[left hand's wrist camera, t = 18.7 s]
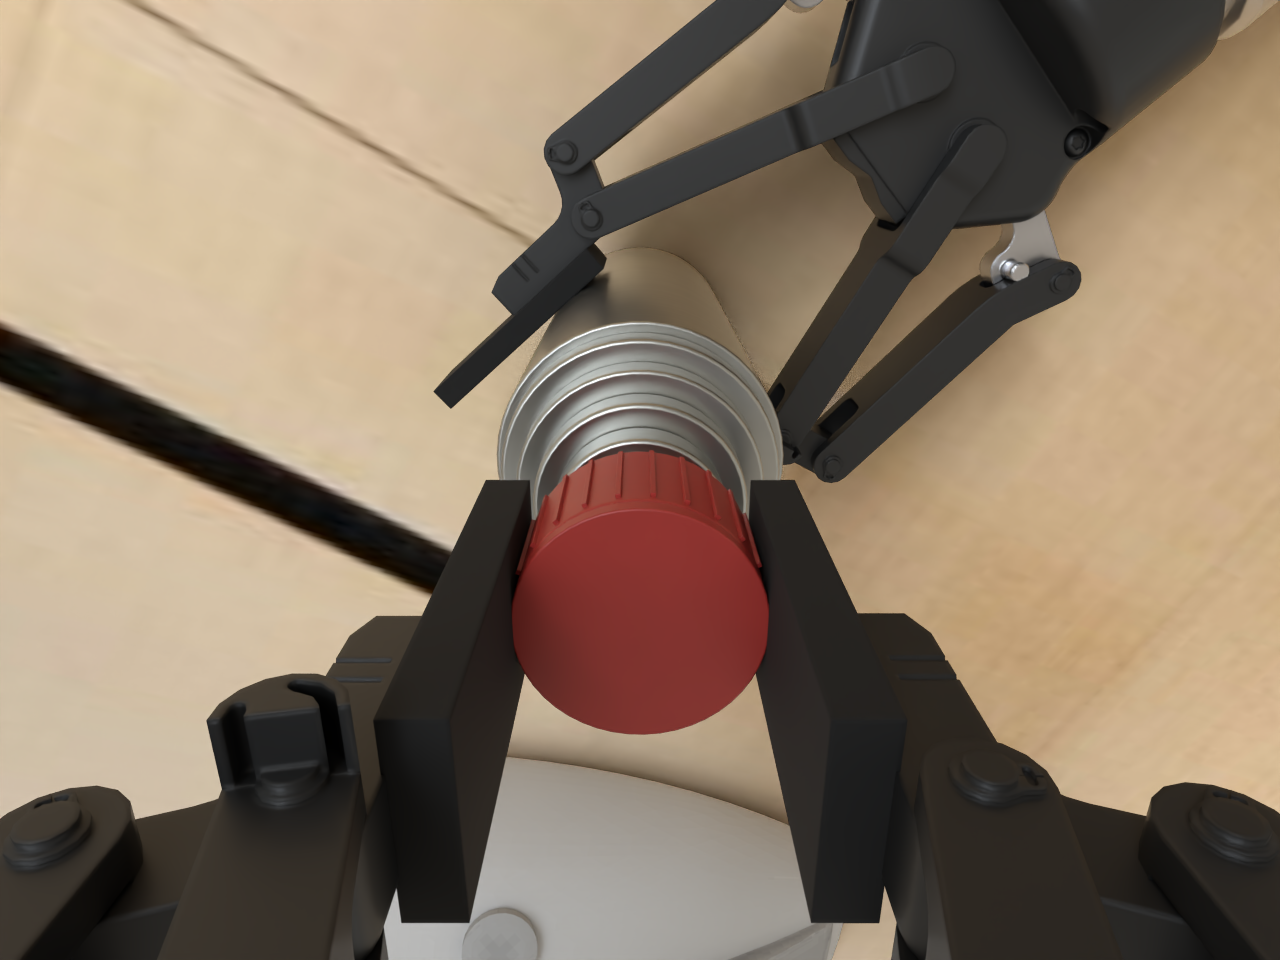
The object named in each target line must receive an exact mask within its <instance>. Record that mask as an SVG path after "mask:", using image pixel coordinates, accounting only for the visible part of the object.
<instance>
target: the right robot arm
mask: <svg viewBox="0 0 1280 960" xmlns="http://www.w3.org/2000/svg"><path fill="white" fill-rule="evenodd" d="M821 1H822V0H716V1H715V2H713V3H712V4H711V5H710V6H708V7H707V8H706V9H705V10H704V11H702V12H701V13H700V14H699V15H697V16H696V17H695V18H694V19H692V20H691V21H690V22H689V23H688V24H686V25H685V26H684V27H683V28H681V29H680V30H679V31H678V32H677V33H675V34H674V35H673V36H672V37H670V38H669V39H668V40H667V41H665V42H664V43H663V44H662V45H661V46H659V47H658V48H657V49H656V50H654V51H653V52H652V53H651V54H650V55H648V56H647V57H646V58H645V59H643V60H642V61H641V62H640V63H638V64H637V65H636V66H635V67H634V68H632V69H631V70H630V71H629V72H627V73H626V74H625V75H624V76H623V77H621V78H620V79H619V80H618V81H616V82H615V83H614V84H613V85H611V86H610V87H609V88H608V89H607V90H605V91H604V92H603V93H602V94H600V95H599V96H598V97H597V98H595V99H594V100H593V101H592V102H591V103H589V104H588V105H587V106H586V107H584V108H583V109H582V110H581V111H580V112H578V113H577V114H576V115H575V116H573V117H572V118H571V119H570V120H568V121H567V122H566V123H565V124H564V125H562V126H561V127H560V128H559V129H557V130H556V131H555V132H554V133H553V134H551V136H550V137H549V138H548V139H547V141H546V144H545V147H544V157H545V160H546V162H547V164H548V166H549V167H550V169H551V171H552V174H553V176H554V178H555V181H556V183H557V186H558V188H559V191H560V194H561V197H562V209H561V213H560V216H559V218H558V219H557V221H556V222H555V223H554V224H553V225H552V226H551V227H550V228H549V229H548V230H547V231H546V232H545V233H544V234H543V235H542V236H541V237H539V238H538V239H537V240H536V241H535V242H534V243H533V244H532V245H531V246H530V247H529V248H528V249H527V250H526V251H525V252H524V253H523V254H522V255H521V256H520V257H518V258H517V259H516V260H515V261H514V262H513V263H512V264H511V265H510V266H509V267H508V268H507V269H506V270H505V271H504V272H503V273H502V274H501V275H500V276H499V277H498V279H497V281H496V283H495V286H494V288H493V290H492V294H493V295H494V296H495V297H496V298H497V299H498V300H499V301H500V302H501V303H502V304H503V305H504V306H505V307H506V309H507V310H508V311H509V312H510V313H511V314H512V315H511V316H510V317H509V318H508V319H506V320H505V321H504V322H503V323H502V324H501V325H500V326H499V327H498V328H497V329H496V330H495V331H494V332H493V333H491V334H490V335H489V336H488V337H487V338H486V339H485V340H484V341H483V342H482V343H481V344H480V345H479V346H477V347H476V348H475V349H474V350H473V351H472V352H471V353H470V354H469V355H468V356H467V357H466V358H465V359H464V360H462V361H461V362H460V363H459V364H458V365H457V366H456V367H455V368H454V369H453V370H452V371H451V372H450V373H449V374H448V375H447V377H446V378H445V379H444V380H443V381H442V382H441V383H440V385H439V386H438V387H437V388H436V389H435V390H434V391H433V392H434V393H435V394H436V395H437V396H438V397H439V398H440V399H441V400H442V401H443V402H444V403H445V404H446V405H447V406H448V407H449V408H450V409H451V408H452V407H453V406H455V405H456V404H457V403H458V402H459V401H460V400H461V399H462V398H463V397H464V396H465V395H467V394H468V393H469V392H470V391H471V390H472V389H473V388H474V387H475V386H476V385H477V384H479V383H480V382H481V381H482V380H483V379H484V378H485V377H486V376H487V375H488V374H490V373H491V372H492V371H493V370H494V369H495V368H496V367H497V366H498V365H499V364H500V363H502V362H503V361H504V360H505V359H506V358H507V357H508V356H509V355H510V354H511V353H512V352H514V351H515V350H516V349H517V348H518V347H519V346H520V345H521V344H522V343H523V342H524V341H526V340H527V339H528V338H529V337H530V336H531V335H532V334H533V333H534V332H535V331H536V330H538V329H539V328H540V327H541V326H542V325H543V324H544V323H545V322H546V321H547V320H548V319H550V318H551V317H552V316H553V315H554V314H555V313H556V312H557V311H558V310H559V309H560V308H562V307H563V306H564V305H565V304H566V303H567V302H568V301H569V300H570V299H571V298H572V297H574V296H575V295H576V294H577V293H578V292H579V291H580V290H581V289H582V288H583V287H584V286H586V285H587V284H588V283H589V282H590V281H591V280H592V279H593V278H594V277H595V276H596V275H598V274H599V273H600V272H601V271H602V270H603V269H604V267H605V263H606V260H607V257H606V256H605V255H604V254H603V253H602V252H601V251H600V249H599V248H598V247H597V246H596V245H595V244H594V243H595V242H596V241H597V240H598V239H599V238H600V237H603V236H605V235H607V234H609V233H612V232H614V231H616V230H619V229H621V228H623V227H626V226H628V225H630V224H633V223H635V222H637V221H640V220H642V219H644V218H646V217H649V216H651V215H653V214H656V213H658V212H660V211H663V210H665V209H667V208H670V207H672V206H674V205H677V204H679V203H681V202H683V201H686V200H688V199H690V198H693V197H695V196H697V195H700V194H702V193H704V192H707V191H709V190H711V189H714V188H716V187H718V186H721V185H723V184H725V183H727V182H730V181H732V180H734V179H737V178H739V177H741V176H744V175H746V174H748V173H751V172H753V171H755V170H758V169H760V168H762V167H764V166H767V165H769V164H771V163H774V162H776V161H778V160H781V159H783V158H785V157H788V156H790V155H792V154H795V153H797V152H800V151H802V150H805V149H808V148H811V147H813V146H816V145H818V144H821V143H822V144H823V146H824V147H825V148H826V150H827V151H828V152H829V154H830V155H831V156H832V158H833V159H834V160H835V161H836V162H838V163H839V164H840V165H842V166H843V167H844V168H846V169H847V170H848V171H849V172H851V173H852V174H853V175H854V176H855V178H856V180H857V183H858V185H859V188H860V191H861V193H862V196H863V198H864V201H865V202H866V203H867V205H868V206H869V207H870V209H871V210H872V211H873V213H874V214H875V215H876V217H875V218H874V220H873V221H872V223H871V224H870V226H869V228H868V229H867V231H866V232H865V234H864V236H863V238H862V240H861V243H860V248H859V250H858V252H857V254H856V255H855V257H854V258H853V260H852V262H851V263H850V265H849V266H848V268H847V269H846V271H845V273H844V274H843V276H842V277H841V279H840V280H839V282H838V283H837V285H836V287H835V288H834V290H833V291H832V293H831V294H830V296H829V297H828V299H827V301H826V302H825V304H824V305H823V307H822V308H821V310H820V312H819V313H818V315H817V316H816V318H815V319H814V321H813V322H812V324H811V326H810V327H809V329H808V330H807V332H806V333H805V335H804V336H803V338H802V340H801V341H800V343H799V344H798V346H797V347H796V349H795V350H794V352H793V354H792V355H791V357H790V358H789V360H788V361H787V363H786V365H785V366H784V368H783V369H782V371H781V372H780V374H779V375H778V377H777V379H776V380H775V382H774V383H773V385H772V386H771V388H770V389H769V391H768V393H767V394H768V396H769V398H770V400H771V402H772V404H773V407H774V409H775V412H776V415H777V418H778V421H779V425H780V430H781V435H782V443H783V465H787V464H792V463H794V462H795V463H797V464H799V465H800V466H802V467H804V468H806V469H808V470H810V471H812V472H814V473H815V474H816V475H817V477H818V478H819V479H821V480H822V481H824V482H829V483H833V482H838V481H840V480H841V479H843V478H845V477H846V476H847V475H848V474H849V473H850V472H851V471H852V470H853V469H855V468H856V467H857V466H858V465H859V464H860V463H861V462H862V461H863V460H864V459H866V458H867V457H868V456H869V455H870V454H871V453H872V452H873V451H874V450H876V449H877V448H878V447H879V446H880V445H881V444H882V443H883V442H884V441H885V440H887V439H888V438H889V437H890V436H891V435H892V434H893V433H894V432H895V431H897V430H898V429H899V428H900V427H901V426H902V425H903V424H904V423H905V422H906V421H908V420H909V419H910V418H911V417H912V416H913V415H914V414H915V413H916V412H917V411H919V410H920V409H921V408H922V407H923V406H924V405H925V404H926V403H927V402H929V401H930V400H931V399H932V398H933V397H934V396H935V395H936V394H937V393H938V392H940V391H941V390H942V389H943V388H944V387H945V386H946V385H947V384H948V383H950V382H951V381H952V380H953V379H954V378H955V377H956V376H957V375H958V374H959V373H961V372H962V371H963V370H964V369H965V368H966V367H967V366H968V365H969V364H971V363H972V362H973V361H974V360H975V359H976V358H977V357H978V356H979V355H980V354H982V353H983V352H984V351H985V350H986V349H987V348H988V347H989V346H990V345H991V344H993V343H994V342H995V341H996V340H997V339H998V338H999V337H1000V336H1001V335H1003V334H1004V333H1005V332H1006V331H1007V330H1008V329H1009V328H1010V327H1011V326H1012V325H1014V324H1016V323H1018V322H1020V321H1022V320H1025V319H1027V318H1029V317H1031V316H1033V315H1035V314H1038V313H1040V312H1042V311H1044V310H1046V309H1048V308H1050V307H1053V306H1055V305H1057V304H1059V303H1061V302H1063V301H1065V300H1067V299H1069V298H1070V297H1072V296H1073V295H1074V294H1075V293H1076V291H1077V290H1078V289H1079V286H1080V283H1081V272H1080V271H1079V269H1078V267H1077V266H1076V265H1074V264H1073V263H1071V262H1068V261H1064V260H1061V259H1060V257H1059V255H1058V251H1057V248H1056V245H1055V242H1054V239H1053V235H1052V232H1051V229H1050V226H1049V223H1048V219H1047V216H1046V213H1045V209H1046V208H1047V207H1048V206H1049V205H1050V203H1051V202H1052V201H1053V199H1054V198H1055V196H1056V194H1057V192H1058V190H1059V188H1060V185H1061V184H1062V182H1063V180H1064V178H1065V177H1066V176H1067V174H1068V173H1069V171H1070V170H1071V169H1072V168H1073V166H1074V165H1075V164H1076V163H1077V162H1078V161H1079V160H1081V159H1082V158H1083V157H1084V156H1086V155H1087V154H1089V153H1090V152H1091V151H1093V150H1094V149H1095V148H1097V147H1098V146H1099V145H1101V144H1102V143H1103V142H1105V141H1106V140H1107V139H1108V138H1110V137H1111V136H1112V135H1113V134H1115V133H1116V132H1117V131H1118V130H1119V129H1121V128H1122V127H1123V126H1124V125H1126V124H1127V123H1128V122H1129V121H1130V120H1132V119H1133V118H1134V117H1135V116H1137V115H1138V114H1139V113H1140V112H1142V111H1143V110H1144V109H1145V108H1146V107H1148V106H1149V105H1150V104H1151V103H1153V102H1154V101H1155V100H1156V99H1158V98H1159V97H1160V96H1161V95H1163V94H1164V93H1165V92H1166V91H1167V90H1169V89H1170V88H1171V87H1172V86H1174V85H1175V84H1176V83H1177V82H1179V81H1180V80H1181V79H1182V78H1184V77H1185V76H1186V75H1187V74H1189V73H1190V72H1191V71H1192V70H1193V69H1195V68H1196V67H1197V66H1198V65H1200V64H1201V63H1202V62H1203V61H1205V59H1206V58H1207V57H1208V56H1209V55H1210V54H1211V52H1212V50H1213V48H1214V47H1215V45H1216V43H1217V40H1223V39H1229V38H1230V37H1232V36H1234V35H1236V34H1237V33H1239V32H1241V31H1243V30H1244V29H1246V28H1247V27H1248V26H1249V25H1250V24H1252V23H1253V22H1254V21H1255V20H1256V19H1258V18H1259V17H1260V16H1261V15H1262V14H1264V13H1265V12H1266V11H1267V10H1268V9H1270V8H1271V7H1272V6H1273V5H1274V4H1276V3H1277V2H1278V1H1279V0H846V1H848V3H847V7H846V10H845V14H844V18H843V21H842V25H841V29H840V32H839V36H838V40H837V43H836V47H835V51H834V54H833V58H832V61H831V65H830V69H829V72H828V76H827V80H826V83H825V87H824V90H822V91H820V92H818V93H815V94H813V95H811V96H809V97H806V98H804V99H802V100H800V101H797V102H795V103H793V104H790V105H788V106H786V107H784V108H781V109H779V110H777V111H775V112H773V113H771V114H768V115H766V116H764V117H762V118H759V119H757V120H755V121H753V122H750V123H748V124H746V125H744V126H741V127H739V128H737V129H734V130H732V131H730V132H728V133H725V134H723V135H721V136H719V137H716V138H714V139H712V140H710V141H707V142H705V143H703V144H700V145H698V146H696V147H694V148H691V149H689V150H687V151H685V152H682V153H680V154H678V155H676V156H673V157H671V158H669V159H666V160H664V161H662V162H660V163H657V164H655V165H653V166H651V167H648V168H646V169H644V170H642V171H639V172H637V173H635V174H632V175H630V176H628V177H626V178H623V179H621V180H619V181H617V182H614V183H612V184H610V185H607V186H605V187H604V184H603V182H602V179H601V177H600V174H599V171H598V169H597V166H596V164H595V161H594V160H596V159H597V158H598V157H599V156H601V155H602V154H603V153H604V152H606V151H607V150H608V149H609V148H611V147H612V146H613V145H614V144H616V143H617V142H618V141H620V140H621V139H622V138H623V137H625V136H626V135H627V134H628V133H630V132H631V131H632V130H633V129H635V128H636V127H637V126H638V125H640V124H641V123H642V122H643V121H645V120H646V119H647V118H648V117H650V116H651V115H652V114H653V113H655V112H656V111H657V110H659V109H660V108H661V107H662V106H664V105H665V104H666V103H667V102H669V101H670V100H671V99H672V98H674V97H675V96H676V95H677V94H679V93H680V92H681V91H682V90H684V89H685V88H686V87H687V86H689V85H690V84H691V83H692V82H694V81H695V80H696V79H698V78H699V77H700V76H701V75H703V74H704V73H705V72H706V71H708V70H709V69H710V68H711V67H713V66H714V65H715V64H716V63H718V62H719V61H720V60H721V59H723V58H724V57H725V56H726V55H728V54H729V53H730V52H731V51H733V50H734V49H735V48H737V47H738V46H739V45H740V44H742V43H743V42H744V41H745V40H747V39H748V38H749V37H750V36H752V35H753V34H754V33H755V32H756V31H757V30H759V29H760V28H761V27H762V26H763V25H764V24H765V23H766V22H767V21H768V20H769V19H770V18H771V17H772V16H773V15H774V14H775V13H776V12H777V11H778V10H779V9H780V8H781V7H782V6H783V5H785V6H786V7H787V8H788V9H790V10H792V11H793V12H797V13H805V12H808V11H810V10H812V9H813V8H814V7H816V6H817V5H818V4H819V3H820V2H821ZM1000 224H1001V226H1002V232H1001V236H1000V239H999V241H998V242H997V244H996V245H995V246H994V247H993V248H992V249H990V250H989V251H988V252H987V253H986V254H985V255H984V256H983V258H982V260H981V262H980V268H979V270H980V275H978V276H976V277H974V278H973V279H971V280H970V281H968V282H967V283H965V284H964V285H962V286H961V287H960V288H958V289H957V290H956V291H955V292H954V293H952V294H951V295H950V296H949V297H948V298H947V299H946V300H945V301H944V302H943V303H941V304H940V305H939V306H938V307H937V308H936V309H935V310H934V311H933V312H932V313H931V314H930V315H929V316H928V317H927V318H925V319H924V320H923V321H922V322H921V323H920V324H919V325H918V326H917V327H916V328H915V329H914V330H913V331H912V332H911V333H910V334H908V335H907V336H906V337H905V338H904V339H903V340H902V341H901V342H900V343H899V344H898V345H897V346H896V347H895V348H894V349H893V350H891V351H890V352H889V353H888V354H887V355H886V356H885V357H884V358H883V359H882V360H881V361H880V362H879V363H878V364H877V365H876V366H874V367H873V368H872V369H871V370H870V371H869V372H868V373H867V374H866V375H865V376H864V377H863V378H862V379H861V380H860V381H859V382H857V383H856V384H855V385H854V386H853V387H852V388H851V389H850V390H849V391H848V392H847V393H846V394H845V395H844V396H843V397H841V398H840V399H839V400H838V401H837V402H836V403H835V404H834V405H833V406H832V407H831V408H830V409H829V410H828V411H827V412H826V413H824V414H823V415H822V416H821V417H820V418H819V416H820V415H821V413H822V412H823V410H824V409H825V407H826V406H827V404H828V403H829V401H830V400H831V398H832V397H833V395H834V394H835V392H836V391H837V389H838V388H839V386H840V385H841V383H842V382H843V380H844V379H845V377H846V376H847V374H848V373H849V372H850V370H851V369H852V367H853V366H854V364H855V363H856V361H857V360H858V358H859V357H860V355H861V354H862V352H863V351H864V349H865V348H866V346H867V345H868V343H869V342H870V340H871V339H872V337H873V336H874V334H875V333H876V331H877V330H878V328H879V327H880V325H881V324H882V322H883V321H884V319H885V318H886V316H887V315H888V313H889V312H890V310H891V309H892V307H893V306H894V304H895V303H896V302H897V300H898V299H899V297H900V296H901V294H902V293H903V291H904V290H905V288H906V287H907V285H908V284H909V282H910V281H911V280H912V279H913V278H914V277H915V276H917V275H918V274H920V273H921V272H922V271H923V270H924V269H925V268H926V266H927V265H928V264H929V262H930V261H931V260H932V258H933V257H934V255H935V254H936V252H937V251H938V249H939V248H940V246H941V245H942V243H943V242H944V240H945V239H946V237H947V236H948V234H949V233H950V231H951V230H952V229H959V228H970V227H980V226H990V225H1000ZM818 418H819V419H818ZM817 419H818V420H817Z"/></svg>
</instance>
